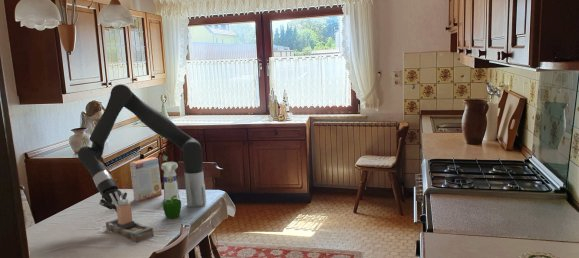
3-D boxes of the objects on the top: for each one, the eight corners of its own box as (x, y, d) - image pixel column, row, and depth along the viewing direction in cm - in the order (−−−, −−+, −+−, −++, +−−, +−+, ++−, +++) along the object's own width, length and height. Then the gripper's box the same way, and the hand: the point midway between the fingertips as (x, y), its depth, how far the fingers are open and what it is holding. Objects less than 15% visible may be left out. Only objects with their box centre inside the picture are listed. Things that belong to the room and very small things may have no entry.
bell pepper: (165, 221, 205) (163, 200, 203) (163, 215, 212) (161, 195, 211) (183, 218, 208) (181, 197, 206) (180, 212, 215) (179, 192, 214)
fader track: (106, 229, 197) (105, 222, 197) (123, 224, 204) (122, 216, 203) (136, 242, 182) (135, 234, 182) (153, 235, 188) (152, 227, 188)
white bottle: (181, 200, 234) (177, 153, 230) (164, 202, 232) (159, 155, 228) (180, 195, 242) (176, 150, 238) (163, 197, 240) (159, 152, 236)
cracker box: (155, 193, 249) (152, 156, 246) (162, 194, 245) (158, 157, 242) (133, 199, 238) (129, 161, 235) (139, 201, 235) (135, 163, 231)
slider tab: (116, 227, 194) (114, 201, 192) (128, 223, 198) (125, 198, 196) (123, 229, 190) (120, 203, 188) (134, 225, 195) (132, 200, 193)
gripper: (92, 181, 193) (110, 214, 187) (121, 174, 203) (138, 205, 197) (88, 191, 198) (105, 223, 192) (116, 184, 208) (133, 214, 202)
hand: (122, 214), depth 195 cm, fingers closed
